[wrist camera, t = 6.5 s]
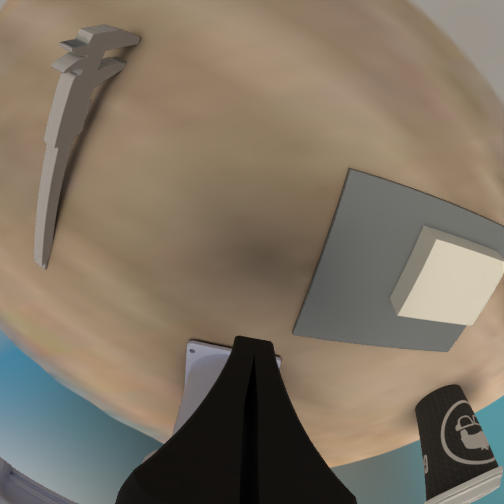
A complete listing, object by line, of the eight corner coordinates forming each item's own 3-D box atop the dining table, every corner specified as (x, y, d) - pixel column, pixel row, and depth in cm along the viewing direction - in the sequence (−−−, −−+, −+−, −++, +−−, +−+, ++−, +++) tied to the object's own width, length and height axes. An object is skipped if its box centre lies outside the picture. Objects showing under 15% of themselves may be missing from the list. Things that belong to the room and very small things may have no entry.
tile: (389, 297, 20) (462, 310, 20) (397, 315, 18) (471, 325, 19) (423, 224, 17) (495, 250, 18) (436, 238, 15) (508, 263, 16)
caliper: (132, 32, 13) (72, 14, 8) (145, 38, 13) (88, 20, 8) (40, 261, 22) (-1, 302, 17) (49, 268, 22) (9, 310, 17)
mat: (446, 349, 23) (447, 352, 23) (292, 331, 23) (292, 334, 22) (514, 231, 17) (517, 233, 17) (349, 167, 16) (350, 169, 16)
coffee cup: (399, 399, 27) (424, 517, 14) (473, 364, 25) (516, 474, 12) (407, 427, 31) (425, 521, 18) (469, 400, 28) (498, 489, 15)
